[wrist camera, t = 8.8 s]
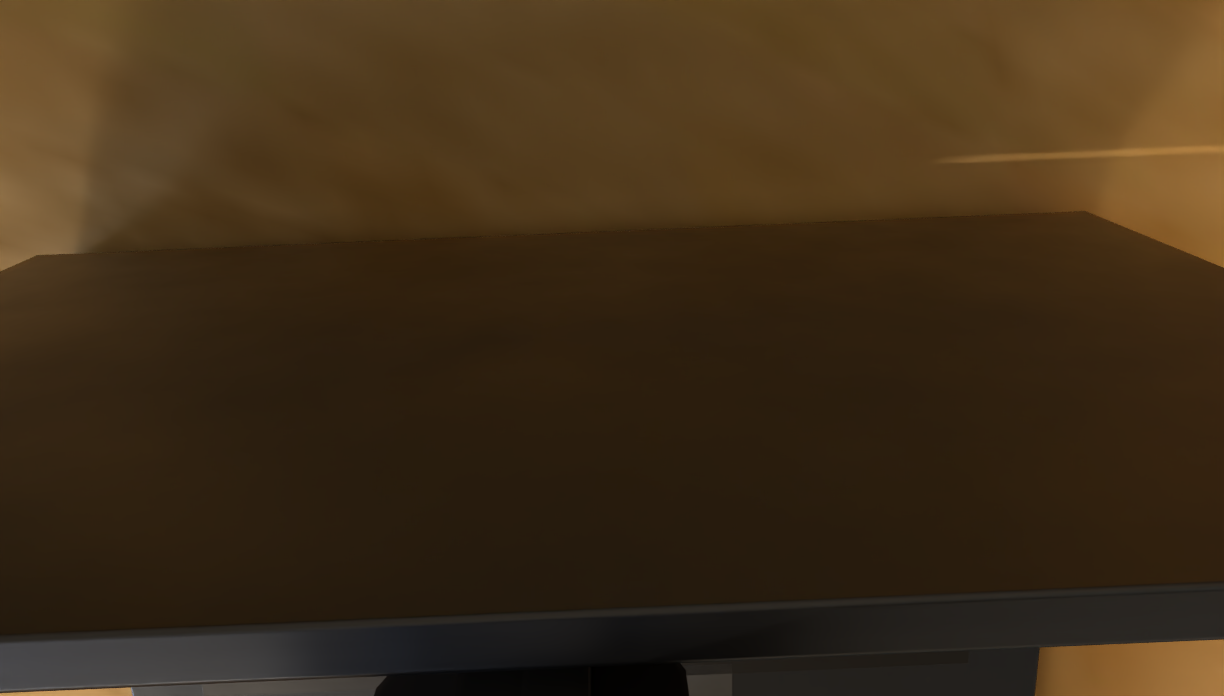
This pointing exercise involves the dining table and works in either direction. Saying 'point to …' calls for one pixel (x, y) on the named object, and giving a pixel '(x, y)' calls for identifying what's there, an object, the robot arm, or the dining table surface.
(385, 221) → the dining table surface
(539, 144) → the dining table surface
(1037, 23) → the dining table surface
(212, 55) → the dining table surface
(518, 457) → the laptop screen
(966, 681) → the laptop
